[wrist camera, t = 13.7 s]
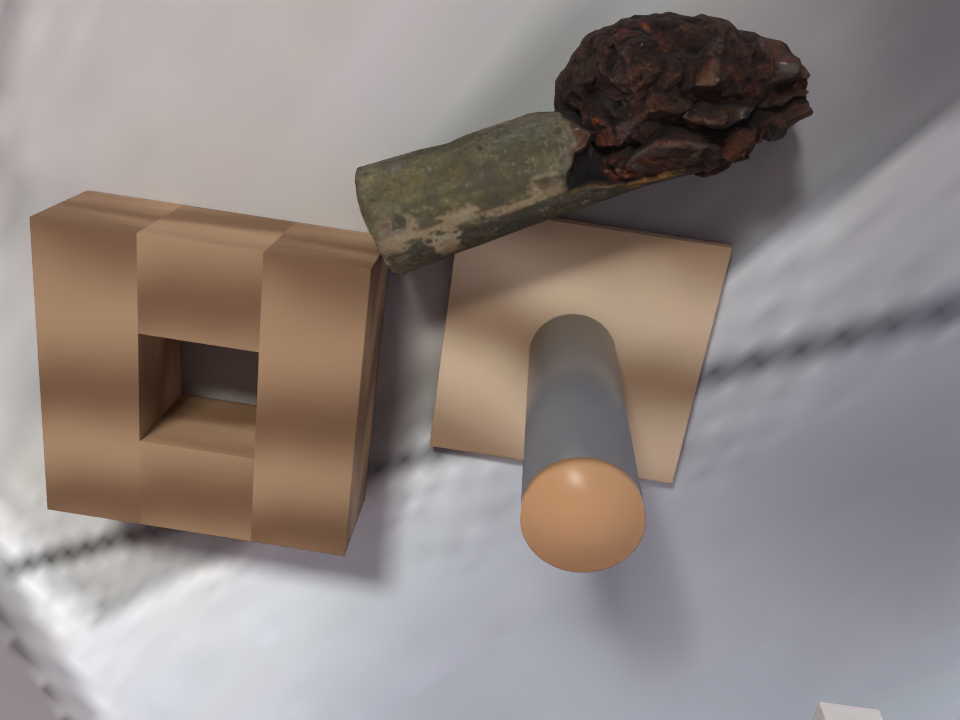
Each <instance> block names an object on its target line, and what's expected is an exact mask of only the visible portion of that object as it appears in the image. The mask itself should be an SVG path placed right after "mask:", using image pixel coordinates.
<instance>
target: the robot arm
mask: <svg viewBox="0 0 960 720" xmlns="http://www.w3.org/2000/svg"><path fill="white" fill-rule="evenodd" d="M813 720H883V718H882V716H881V714H880V711H879V710H876V709H869V708H861V707H854V706H847V705H840V704H832V703H825V702H819V703H818V706H817V709H816V712H815V715H814V717H813Z"/></svg>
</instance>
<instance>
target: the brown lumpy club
mask: <svg viewBox="0 0 960 720" xmlns="http://www.w3.org/2000/svg"><path fill="white" fill-rule="evenodd" d="M809 76H810V74H809V72H808V71H807V69H806V68H805V67H804V66H803V65H802V64H801V61H800V58H797V57H796V56H794V55H793V54H792V53H791V51H790V49H789V47H788V45H787V44H785V43H784V42H782V41H779V40H773V39H768V38H765V37H761V36H760V35H758V34H756V33H755V32H748V31H742V30H737V29H736V27H735V26H734V25H733V24H732V23H731V22H730V21H728V20H725V19H722V18H717V17H711V16H707V15H704V14H700V15H697V16H695V17H690V16H683V15H679V14H676V13H672V12H665V13H663V14H657V13H654V14H651V15H634V16H632V17H629V18H623V19H620V20H619V21H618V22H617V23H615V24H613V25H611V26H606V27H603V28H601V29H599V30H595V31H593V32H591V33H589V34H587V35H586V36H585V37H584V38H583V40H582V42H581V44H580V46H579V47H578V48H577V49H576V50H575V51H574V53H573V54H572V56H571V58H570V60H569V62H568V64H567V66H566V67H565V69H564V70H563V71H562V72H561V73H560V74H559V76H558V78H557V79H556V81H555V99H554V106H555V111H554V112H536V113H530V114H526V115H523V116H521V117H518V118H515V119H513V120H509V121H506V122H503V123H500V124H496V125H493V126H491V127H488V128H485V129H482V130H479V131H476V132H473V133H471V134H468V135H465V136H463V137H461V138H458V139H456V140H454V141H452V142H449V143H447V144H443V145H439V146H434V147H430V148H425V149H421V150H417V151H414V152H410V153H407V154H403V155H400V156H396V157H393V158H389V159H386V160H382V161H379V162H376V163H372V164H369V165H365V166H362V167H359V168H357V170H356V174H355V185H356V194H357V199H358V203H359V207H360V211H361V214H362V216H363V219H364V221H365V224H366V226H367V228H368V230H369V232H370V233H371V235H372V237H373V239H374V241H375V243H376V246H377V249H378V250H379V252H380V254H381V255H382V257H383V259H384V261H385V263H386V264H387V266H388V267H389V268H390V269H391V270H392V271H393V272H395V273H397V274H403V275H405V274H407V273H408V272H410V271H412V270H415V269H417V268H420V267H422V266H425V265H428V264H430V263H433V262H436V261H438V260H441V259H444V258H446V257H449V256H452V255H454V254H457V253H459V252H462V251H465V250H468V249H471V248H474V247H476V246H479V245H482V244H485V243H488V242H490V241H493V240H496V239H498V238H501V237H503V236H506V235H509V234H511V233H514V232H517V231H519V230H522V229H525V228H527V227H530V226H533V225H536V224H538V223H541V222H544V221H546V220H549V219H552V218H554V217H557V216H560V215H563V214H565V213H568V212H571V211H574V210H577V209H580V208H583V207H585V206H588V205H591V204H594V203H597V202H600V201H603V200H606V199H608V198H611V197H614V196H616V195H619V194H622V193H625V192H628V191H631V190H634V189H637V188H640V187H643V186H646V185H649V184H653V183H657V182H660V181H665V180H669V179H673V178H677V177H682V176H686V175H690V174H695V175H696V176H699V177H703V178H704V177H708V176H712V175H715V174H718V173H720V172H722V171H724V170H725V169H727V168H729V167H730V165H731V164H732V163H734V162H739V161H742V160H746V159H749V154H750V153H751V152H752V150H753V148H754V146H755V144H758V143H762V139H765V140H767V141H769V142H772V141H776V140H779V139H781V138H783V137H784V135H785V134H786V132H787V129H788V128H790V127H791V126H792V125H794V124H795V123H796V122H798V121H799V120H802V119H804V118H806V117H809V116H811V115H812V114H813V110H812V108H810V106H809V102H808V101H807V100H806V94H808V93H809V92H808V91H807V90H806V87H807V84H808V82H807V79H808V78H809Z"/></svg>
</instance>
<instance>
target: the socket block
mask: <svg viewBox="0 0 960 720" xmlns="http://www.w3.org/2000/svg"><path fill="white" fill-rule="evenodd" d="M30 231H31V247H32V263H33V280H34V296H35V312H36V328H37V345H38V361H39V377H40V393H41V410H42V426H43V442H44V458H45V475H46V491H47V507H48V509H50V510H56V511H62V512H69V513H75V514H81V515H88V516H94V517H100V518H107V519H113V520H119V521H126V522H132V523H138V524H145V525H151V526H157V527H164V528H170V529H176V530H183V531H189V532H196V533H202V534H208V535H215V536H221V537H227V538H234V539H240V540H246V541H253V542H259V543H265V544H272V545H278V546H284V547H291V548H297V549H303V550H310V551H316V552H322V553H329V554H335V555H341V556H344V555H345V553H346V550H347V547H348V544H349V541H350V539H351V536H352V533H353V530H354V527H355V525H356V522H357V519H358V516H359V514H360V511H361V508H362V505H363V502H364V500H365V491H366V481H367V471H368V461H369V451H370V441H371V431H372V421H373V411H374V401H375V391H376V381H377V372H378V362H379V352H380V342H381V332H382V322H383V312H384V302H385V292H386V282H387V272H388V266H387V264H386V263H385V261H384V259H383V257H382V255H381V254H380V252H379V250H378V249H377V246H376V243H375V241H374V239H373V237H372V235H371V234H369V233H363V232H356V231H349V230H343V229H336V228H330V227H323V226H317V225H310V224H304V223H297V222H291V221H284V220H278V219H271V218H264V217H258V216H251V215H245V214H238V213H232V212H225V211H219V210H212V209H206V208H199V207H192V206H186V205H179V204H173V203H166V202H160V201H153V200H147V199H140V198H134V197H127V196H121V195H114V194H107V193H101V192H94V191H86V192H83V193H81V194H79V195H77V196H75V197H72V198H70V199H68V200H66V201H63V202H61V203H59V204H57V205H55V206H52V207H50V208H48V209H46V210H44V211H41V212H39V213H37V214H35V215H33V216H30ZM182 340H183V341H189V342H196V343H202V344H209V345H215V346H222V347H228V348H235V349H241V350H247V351H254V352H259V363H258V386H257V406H256V405H250V404H243V403H237V402H230V401H224V400H217V399H211V398H205V397H198V396H192V395H185V394H182Z"/></svg>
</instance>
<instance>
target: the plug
mask: <svg viewBox="0 0 960 720" xmlns="http://www.w3.org/2000/svg"><path fill="white" fill-rule="evenodd" d="M520 521H521V529H522V533H523V536H524V538H525V540H526V542H527V544H528V545H529V547H530V548H531V550H532V551H533V552H534V553H535V554H536V555H537V556H538V557H540V558H541V559H542V560H543V561H545V562H547V563H548V564H550V565H552V566H554V567H556V568H559V569H562V570H566V571H571V572H595V571H600V570H604V569H607V568H610V567H612V566H614V565H616V564H618V563H619V562H621V561H623V560H624V559H625V558H626V557H628V556H629V555H630V554H631V553H632V552H633V551H634V550H635V548H636V547H637V545H638V544H639V542H640V540H641V538H642V535H643V533H644V528H645V510H644V505H643V499H642V493H641V488H640V482H639V477H638V471H637V466H636V460H635V455H634V449H633V443H632V438H631V432H630V427H629V421H628V416H627V410H626V405H625V399H624V393H623V388H622V382H621V377H620V371H619V366H618V360H617V355H616V349H615V344H614V341H613V339H612V336H611V335H610V333H609V331H608V330H607V329H606V328H605V327H604V326H603V325H602V324H601V323H599V322H598V321H597V320H595V319H593V318H591V317H588V316H585V315H580V314H566V315H561V316H558V317H555V318H553V319H551V320H549V321H547V322H546V323H545V324H543V325H542V326H541V327H540V328H539V329H538V331H537V332H536V333H535V335H534V337H533V339H532V341H531V344H530V349H529V364H528V383H527V402H526V420H525V439H524V458H523V477H522V496H521V515H520Z"/></svg>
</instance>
